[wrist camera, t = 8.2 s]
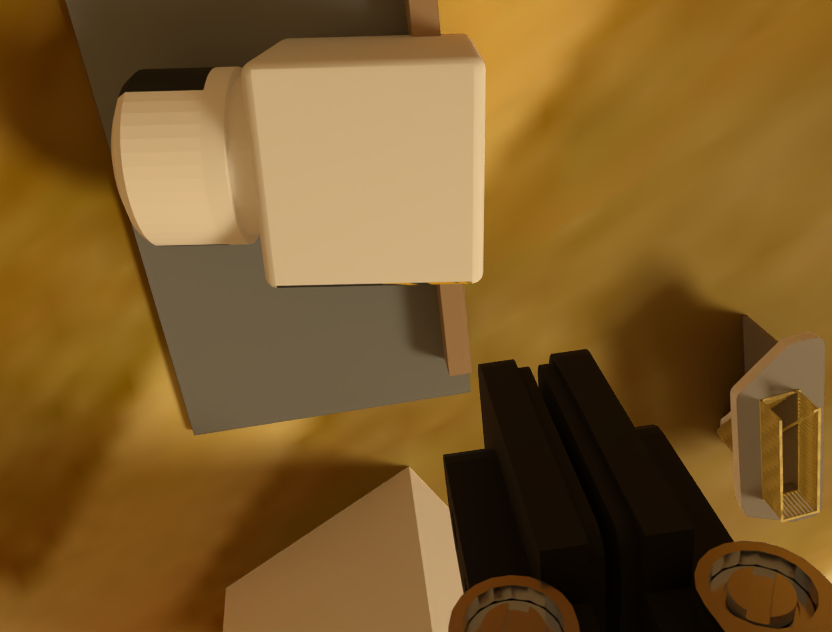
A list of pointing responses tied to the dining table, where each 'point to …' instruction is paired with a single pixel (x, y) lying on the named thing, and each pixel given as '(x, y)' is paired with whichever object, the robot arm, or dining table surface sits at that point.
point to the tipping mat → (243, 264)
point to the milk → (359, 570)
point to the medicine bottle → (316, 159)
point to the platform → (778, 425)
